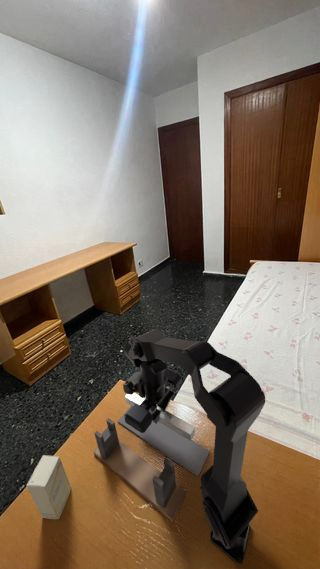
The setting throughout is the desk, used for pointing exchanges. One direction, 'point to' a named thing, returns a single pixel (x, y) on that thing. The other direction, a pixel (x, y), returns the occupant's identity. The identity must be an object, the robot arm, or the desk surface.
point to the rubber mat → (173, 445)
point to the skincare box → (49, 487)
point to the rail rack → (140, 472)
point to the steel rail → (167, 418)
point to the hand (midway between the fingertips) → (158, 418)
